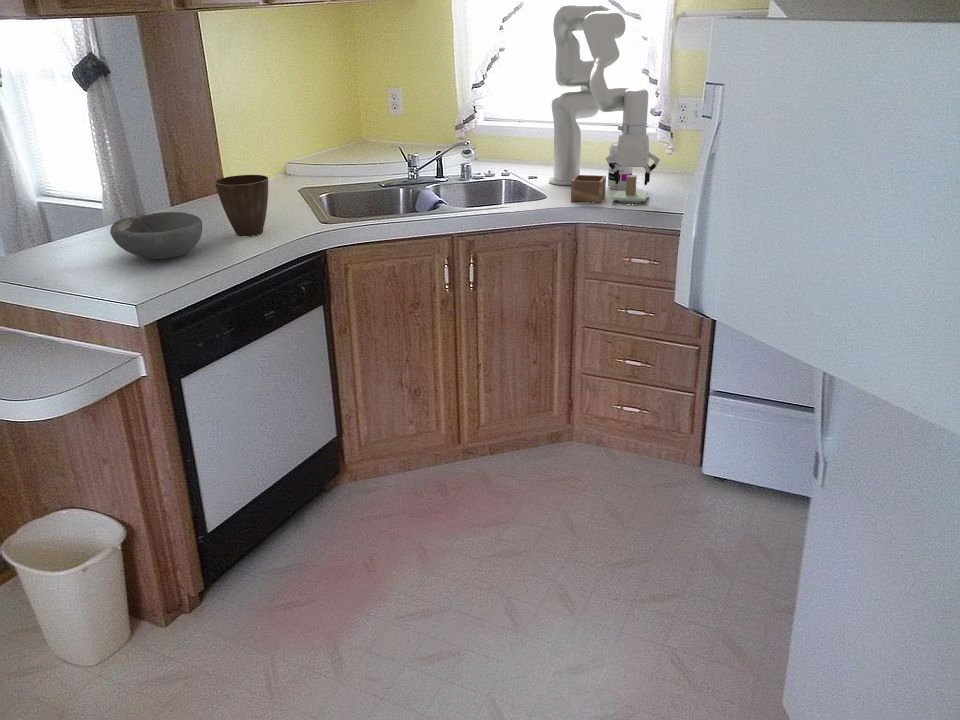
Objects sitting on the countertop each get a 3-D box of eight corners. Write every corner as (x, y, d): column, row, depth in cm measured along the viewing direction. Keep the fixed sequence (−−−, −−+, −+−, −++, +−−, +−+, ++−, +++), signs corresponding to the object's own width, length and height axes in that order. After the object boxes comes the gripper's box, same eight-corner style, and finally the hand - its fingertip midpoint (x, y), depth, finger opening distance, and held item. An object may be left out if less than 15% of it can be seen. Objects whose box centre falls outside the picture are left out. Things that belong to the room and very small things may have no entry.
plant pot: (212, 238, 237) (203, 183, 230) (242, 225, 250) (235, 173, 243) (256, 242, 232) (248, 186, 225) (284, 229, 245) (278, 175, 238)
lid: (616, 195, 274) (617, 172, 271) (647, 197, 271) (649, 173, 268) (612, 202, 265) (613, 178, 262) (645, 204, 262) (646, 179, 259)
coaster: (615, 196, 274) (615, 195, 274) (648, 198, 272) (648, 196, 271) (611, 204, 265) (611, 203, 265) (645, 205, 262) (645, 204, 262)
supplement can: (630, 185, 291) (632, 142, 284) (631, 190, 283) (634, 146, 277) (607, 185, 291) (609, 142, 285) (608, 190, 284) (610, 146, 278)
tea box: (575, 195, 277) (576, 174, 275) (605, 196, 275) (606, 175, 272) (570, 202, 269) (571, 180, 266) (601, 203, 266) (601, 182, 263)
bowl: (143, 275, 206) (136, 236, 202) (102, 259, 220) (94, 222, 216) (223, 254, 222) (217, 218, 218) (180, 240, 235) (174, 206, 231)
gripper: (605, 130, 258) (603, 185, 265) (661, 132, 253) (657, 187, 260) (608, 127, 264) (606, 180, 271) (663, 128, 260) (659, 182, 267)
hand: (631, 183), depth 266 cm, fingers open, 9 cm apart
